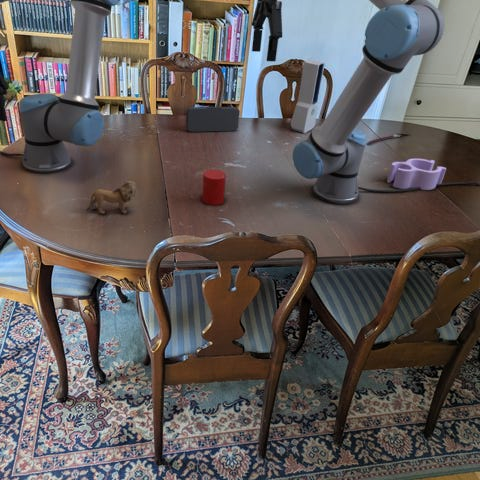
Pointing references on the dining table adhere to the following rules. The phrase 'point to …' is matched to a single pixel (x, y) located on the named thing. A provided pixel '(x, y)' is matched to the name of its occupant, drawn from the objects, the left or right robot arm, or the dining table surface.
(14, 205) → the dining table surface
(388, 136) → the sword
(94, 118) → the left robot arm
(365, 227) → the dining table surface
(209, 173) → the canister
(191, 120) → the dark grey rectangular block
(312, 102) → the electronic device
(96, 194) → the lion figurine
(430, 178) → the clip
